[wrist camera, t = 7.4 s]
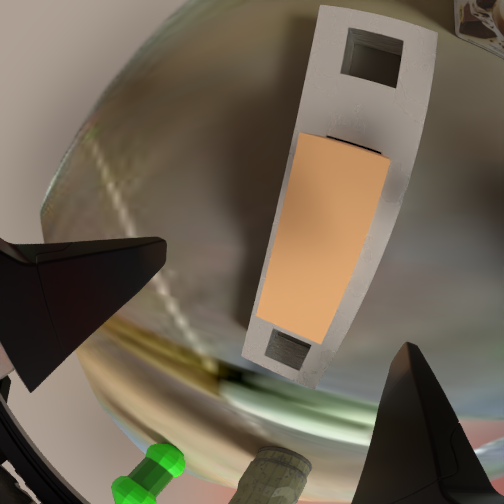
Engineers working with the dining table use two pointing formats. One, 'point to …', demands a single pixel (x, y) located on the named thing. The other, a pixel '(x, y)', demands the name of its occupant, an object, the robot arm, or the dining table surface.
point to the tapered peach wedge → (320, 233)
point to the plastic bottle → (149, 476)
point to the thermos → (273, 478)
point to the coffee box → (481, 23)
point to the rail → (362, 133)
